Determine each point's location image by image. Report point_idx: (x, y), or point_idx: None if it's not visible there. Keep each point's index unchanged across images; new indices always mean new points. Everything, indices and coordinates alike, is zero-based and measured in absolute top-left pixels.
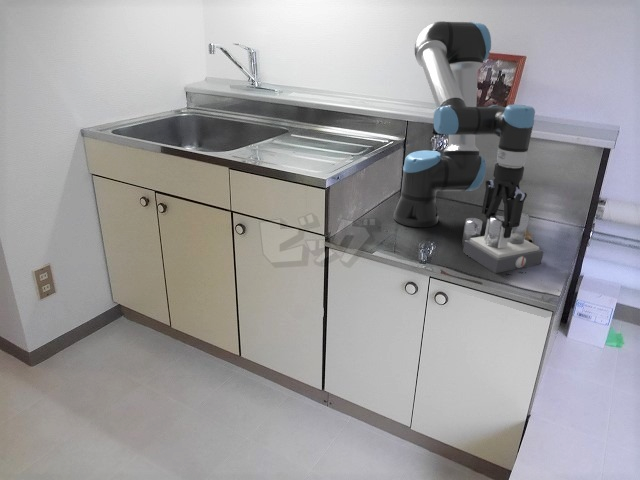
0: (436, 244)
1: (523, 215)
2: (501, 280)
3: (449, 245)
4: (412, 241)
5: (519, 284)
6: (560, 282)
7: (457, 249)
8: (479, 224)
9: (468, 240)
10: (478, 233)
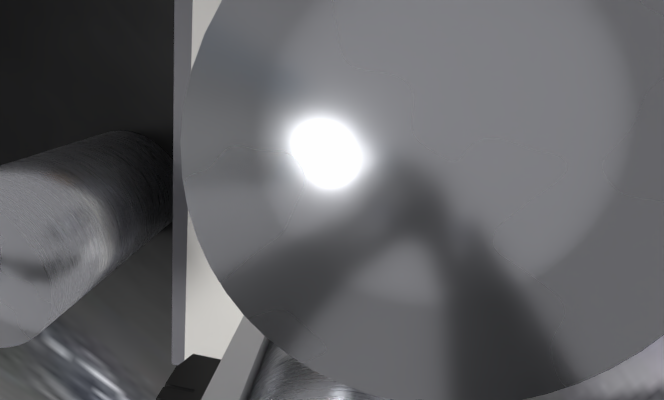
0: (69, 333)
1: (539, 99)
2: (549, 396)
3: (100, 290)
4: (7, 393)
5: (645, 365)
6: None
7: (160, 295)
8: (56, 289)
9: (178, 343)
10: (120, 235)
